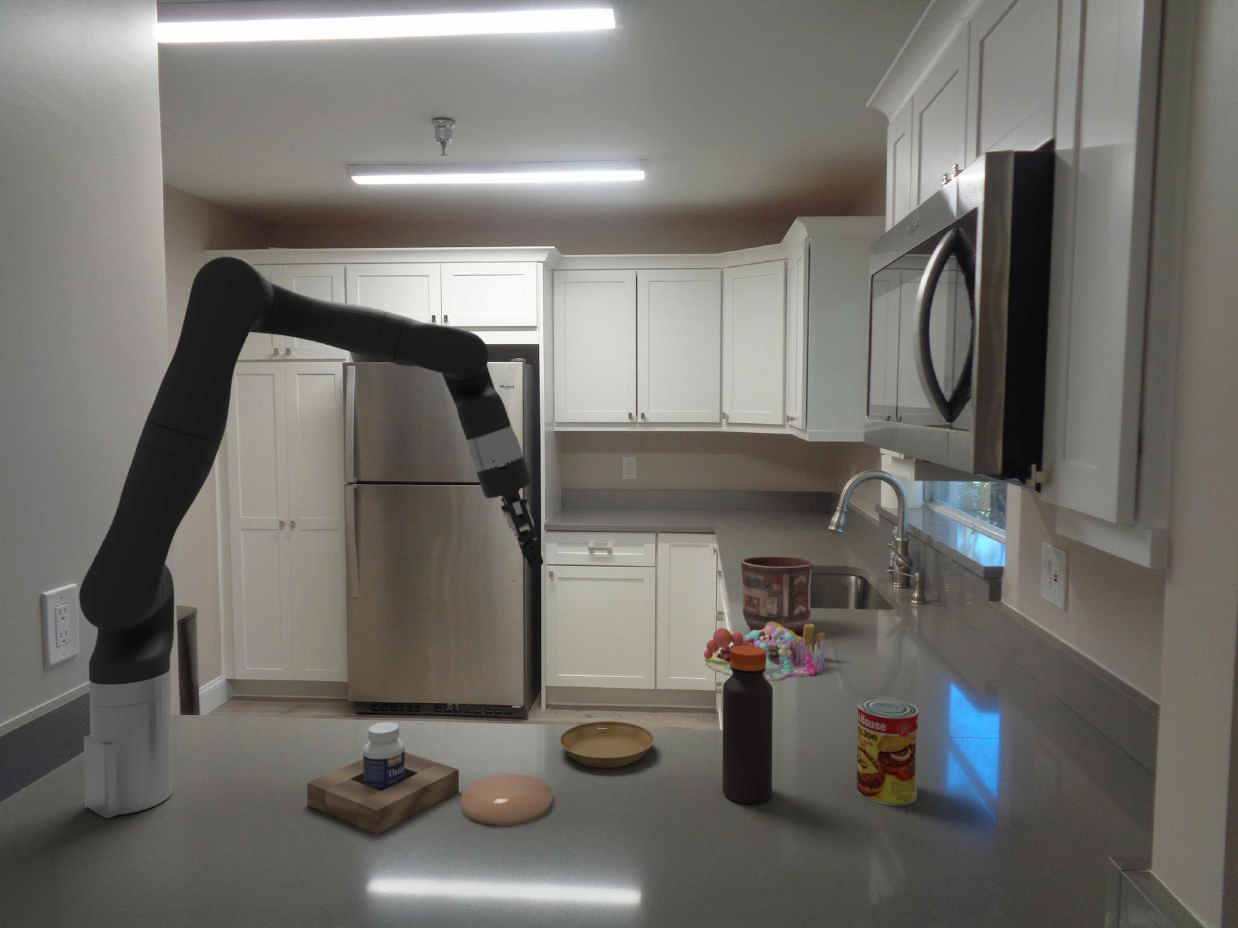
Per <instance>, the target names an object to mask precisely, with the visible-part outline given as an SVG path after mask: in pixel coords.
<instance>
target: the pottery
mask: <svg viewBox="0 0 1238 928" xmlns="http://www.w3.org/2000/svg"><path fill="white" fill-rule="evenodd" d="M813 568H814V562H813V561H811V560H808V559H805V558H801V557H800V558H799V557H795V556H794V557H792V556H777V555H774V556H773V555H772V556H770V555H769V556H768V555H767V556H766V555H765V556H753V557H747V558H745V559H742V560H741V574H742V575H741V576H742V591H743V592H742V613H743V617H744V619H743V620H744V621H745V623H746V625H747V627H748V628H749V629H750V630H751V631H753V630H764V628H765V625H766V624H767V622H775V623H778V624H780V625H781V626H782V627H784V628H786V629H789V630H792V631H793V632H794V633H795V634H796V635H797V636H798V635H799V634H800V633H802V631H803V630H804V625H805V624H809V623H810V622H809V621H810V618H811V585H812V575H813Z"/></svg>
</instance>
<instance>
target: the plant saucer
mask: <svg viewBox="0 0 1238 928" xmlns="http://www.w3.org/2000/svg"><path fill="white" fill-rule="evenodd" d="M598 728H607V729H598ZM558 740H559V741H558V742H559V745H560V746H561V747H562V748H563V750H564V751H565V752H566V753H567V754H568V755H569V756H570V757H571V758H572V759H573V760H575V762H578V763H579V764H581V763H582V765H584V766H587V765H588V767H592V766H593V768H605V769H606V768H607V769H608V768H609V769H611V768H619V767H624V766H628V765H631V764H633V763H635V762H637V761H638V760H639V759H641V758H642V757H643V756H644V755H645V754H646V753H647V752H648V751H649V750H650V748H651V747H652V745H653V744H654V740H655V737H654V735H653V733H652V732H651V731H649V729H647V728H645V727H643V726H641V725H638V724H635V723H630V722H624V721H616V720H615V721H614V720H613V721H611V720H608V721H606V720H602V721H592V722H585V723H581V724H577V725H575V726H572V727H570V728H568V729H567V730H565V731H564V732H562V733H561V734H560V736H559V739H558Z"/></svg>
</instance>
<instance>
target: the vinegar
mask: <svg viewBox="0 0 1238 928" xmlns="http://www.w3.org/2000/svg"><path fill="white" fill-rule="evenodd" d="M765 668H766V651H765V650H764V649H763V648H760V647H756V646H736V647H733V648H731V649H730V669H731V670H732V676H729V677H728V678H727V679H726V680H725V682H723V686H722V781H721V782H722V789H721V791H722V793H723V794H724V796H725V797H726V798H728V799H729V800H731V801H733V802H736V803H738V804H745V805H758V804H762V803H766V802H767V801H769V800H770V799H771V797H772V795H773V720H774V719H773V709H774V707H773V702H774V701H773V699H774V698H773V697H774V694H773V691H774V689H773V686H772V684H771V683H770V681H767V680H766V679H765V678H764V676H763V672H765V671H766V670H765Z"/></svg>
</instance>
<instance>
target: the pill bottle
mask: <svg viewBox="0 0 1238 928" xmlns="http://www.w3.org/2000/svg"><path fill="white" fill-rule="evenodd" d="M399 737H400V725H399V724H397V723H396V722H389V721H388V722H386V721H385V722H384V721H383V722H378V723H375V724H373V725H371V726H369V728H368V736H367V738H368V741H369V742H367V743H366V744H365V746H364V747H363V752H362V754H363V756H362V757H363V758H362V759H363V771H364V785H367V786H370V787H372V788H375V789H378V790H380V791H382V790H384V789H386V788H388V787H391V786H393V785H395V784H397V783H399V782H401V781H403V780H405V760H404V759H405V755H404V754H405V752H406V751H405V750H406V749H405V743H404V741H403V740H402V739H400V738H399Z"/></svg>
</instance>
